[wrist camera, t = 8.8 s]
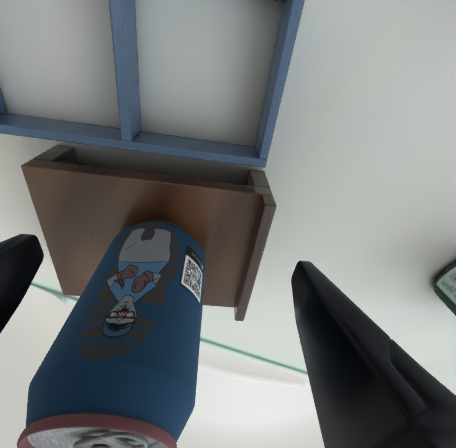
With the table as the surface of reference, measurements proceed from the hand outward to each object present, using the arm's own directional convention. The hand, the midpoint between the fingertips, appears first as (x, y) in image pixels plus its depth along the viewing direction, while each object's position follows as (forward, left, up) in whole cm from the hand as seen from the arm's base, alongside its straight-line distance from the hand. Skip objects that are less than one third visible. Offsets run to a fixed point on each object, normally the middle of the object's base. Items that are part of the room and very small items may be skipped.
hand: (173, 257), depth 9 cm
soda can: (+2, +7, -9) cm, 11 cm away
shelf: (+3, +7, -13) cm, 15 cm away
